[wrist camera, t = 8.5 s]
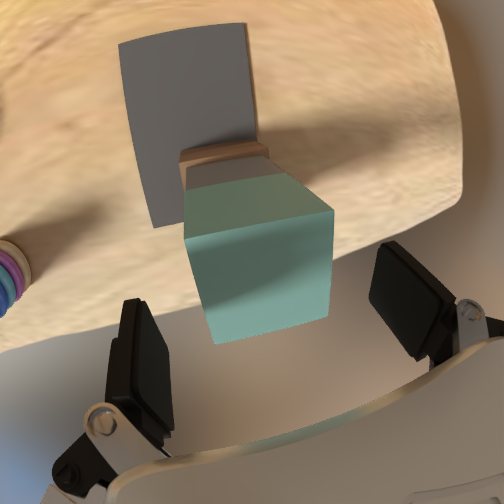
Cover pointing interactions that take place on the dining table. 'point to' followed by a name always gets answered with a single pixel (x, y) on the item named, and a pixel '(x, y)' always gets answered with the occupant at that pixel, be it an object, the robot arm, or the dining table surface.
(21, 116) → the dining table surface
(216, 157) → the tower base
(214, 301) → the teal cube
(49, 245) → the dining table surface
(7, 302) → the stacking toy
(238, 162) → the tower mid
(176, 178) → the mat
